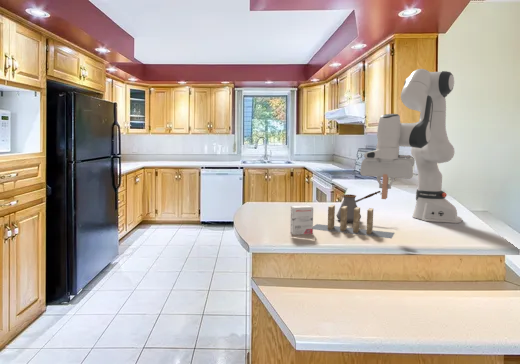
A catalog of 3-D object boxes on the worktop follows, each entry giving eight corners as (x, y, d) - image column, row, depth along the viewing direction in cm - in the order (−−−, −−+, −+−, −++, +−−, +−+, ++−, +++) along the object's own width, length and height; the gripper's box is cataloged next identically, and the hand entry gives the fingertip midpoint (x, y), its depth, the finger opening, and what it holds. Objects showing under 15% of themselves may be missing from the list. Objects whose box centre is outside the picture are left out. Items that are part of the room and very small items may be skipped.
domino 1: (334, 227, 171) (334, 205, 170) (331, 229, 167) (331, 206, 165) (330, 226, 172) (331, 204, 170) (327, 229, 167) (328, 206, 166)
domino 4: (372, 231, 164) (373, 208, 163) (370, 234, 159) (371, 210, 158) (368, 231, 165) (369, 208, 163) (366, 233, 160) (367, 210, 159)
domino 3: (359, 230, 166) (360, 207, 165) (356, 232, 162) (357, 209, 161) (355, 229, 167) (356, 207, 166) (353, 232, 163) (353, 209, 161)
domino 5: (387, 197, 160) (388, 173, 158) (385, 199, 155) (387, 174, 154) (383, 197, 160) (384, 173, 159) (381, 198, 156) (383, 174, 155)
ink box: (309, 232, 165) (310, 204, 163) (313, 235, 160) (313, 207, 158) (289, 233, 163) (290, 205, 162) (293, 236, 158) (293, 207, 157)
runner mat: (394, 234, 162) (394, 232, 162) (391, 239, 154) (391, 238, 153) (316, 225, 177) (316, 224, 177) (309, 230, 168) (309, 228, 168)
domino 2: (346, 228, 169) (347, 206, 167) (343, 231, 164) (344, 208, 163) (342, 228, 169) (343, 205, 168) (340, 230, 165) (340, 207, 164)
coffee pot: (340, 224, 179) (341, 192, 177) (333, 219, 190) (334, 189, 188) (384, 224, 180) (386, 192, 178) (375, 219, 192) (377, 189, 190)
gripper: (415, 155, 154) (412, 189, 156) (363, 153, 163) (361, 185, 164) (414, 155, 148) (411, 191, 150) (360, 153, 157) (358, 187, 159)
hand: (385, 188), depth 157 cm, fingers closed on domino 5, 2 cm apart
